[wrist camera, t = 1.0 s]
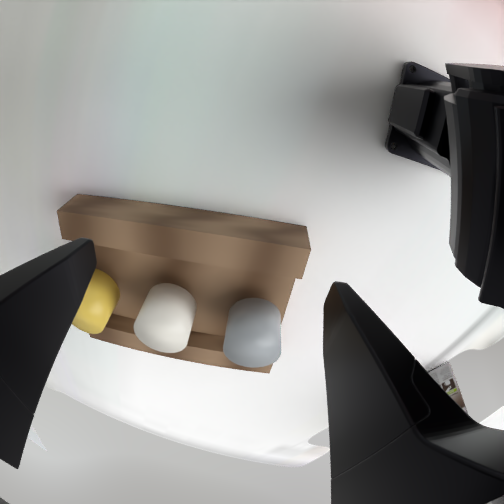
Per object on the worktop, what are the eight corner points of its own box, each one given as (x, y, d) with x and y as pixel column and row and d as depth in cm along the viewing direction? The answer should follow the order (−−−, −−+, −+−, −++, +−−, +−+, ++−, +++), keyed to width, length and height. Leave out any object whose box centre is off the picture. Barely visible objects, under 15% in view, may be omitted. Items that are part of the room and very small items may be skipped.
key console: (306, 226, 21) (310, 249, 18) (269, 350, 29) (268, 375, 26) (77, 194, 20) (56, 211, 18) (101, 318, 28) (91, 338, 26)
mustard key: (116, 273, 21) (98, 302, 18) (123, 309, 23) (108, 338, 21) (75, 264, 21) (54, 290, 18) (84, 299, 23) (68, 326, 20)
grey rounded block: (285, 302, 22) (287, 337, 19) (274, 336, 24) (274, 370, 21) (231, 293, 21) (225, 328, 19) (226, 329, 24) (221, 363, 21)
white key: (197, 288, 21) (187, 322, 19) (196, 324, 24) (187, 357, 21) (145, 278, 21) (130, 310, 18) (150, 315, 23) (137, 346, 21)
